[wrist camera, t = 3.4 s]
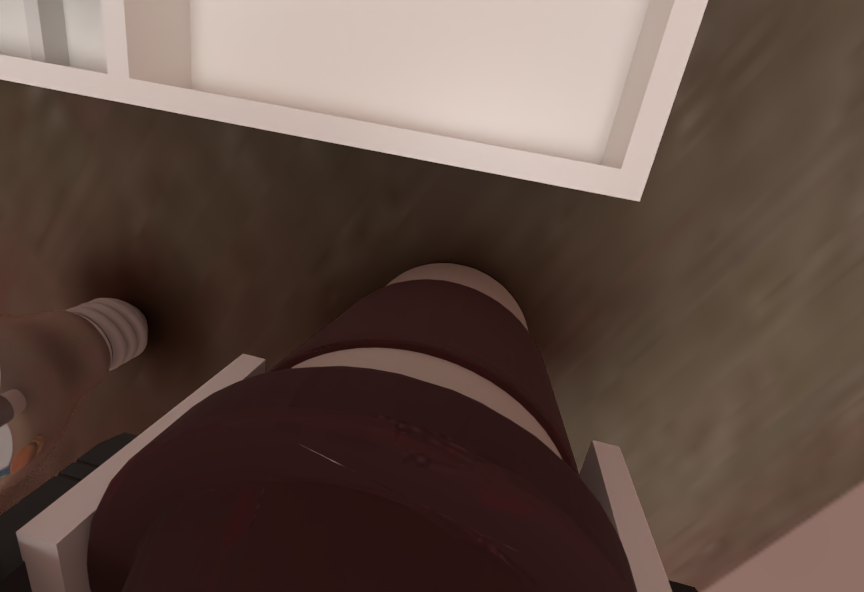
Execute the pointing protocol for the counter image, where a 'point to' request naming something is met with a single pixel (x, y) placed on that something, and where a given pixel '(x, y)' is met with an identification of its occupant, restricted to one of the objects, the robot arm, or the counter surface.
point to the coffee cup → (370, 465)
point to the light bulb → (56, 373)
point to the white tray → (387, 74)
